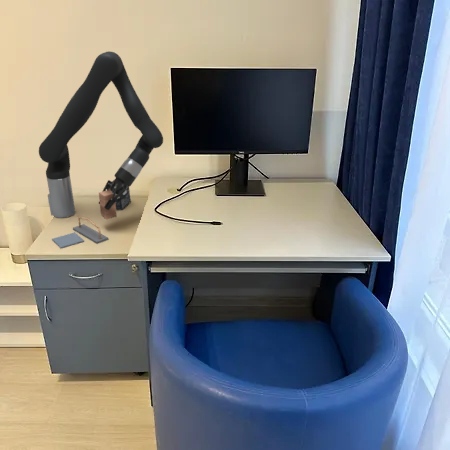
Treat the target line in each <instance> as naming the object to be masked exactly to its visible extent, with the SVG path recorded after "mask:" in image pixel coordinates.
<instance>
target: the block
mask: <svg viewBox="0 0 450 450" xmlns="http://www.w3.org/2000/svg"><path fill="white" fill-rule="evenodd" d="M102 191H103V190H102ZM102 191H100V192H98V197H99V201H100V204H99V207H100V216H101V217H102V218H104V219H105V220H109V219H112V218H117V217H118V215H117V210H116V204H115V203H114V204H113V205H112V207H111V208H110V209H109V210H107V209H106V208H104V206H105V205H106V204H107V202H108V201H109V200H110V198H111V196H112V195H113V194H112V192H111V191H107V190H106V191H103V192H102ZM114 197H115V196H114Z"/></svg>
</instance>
